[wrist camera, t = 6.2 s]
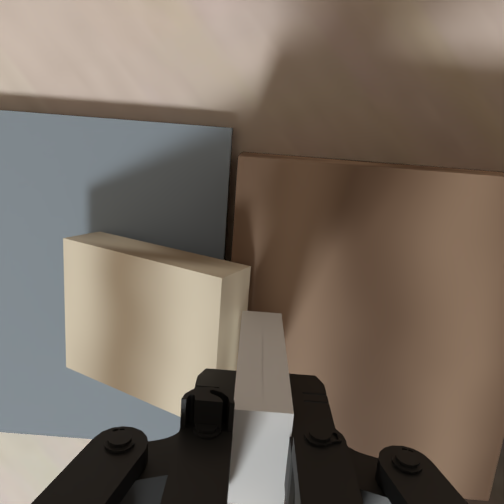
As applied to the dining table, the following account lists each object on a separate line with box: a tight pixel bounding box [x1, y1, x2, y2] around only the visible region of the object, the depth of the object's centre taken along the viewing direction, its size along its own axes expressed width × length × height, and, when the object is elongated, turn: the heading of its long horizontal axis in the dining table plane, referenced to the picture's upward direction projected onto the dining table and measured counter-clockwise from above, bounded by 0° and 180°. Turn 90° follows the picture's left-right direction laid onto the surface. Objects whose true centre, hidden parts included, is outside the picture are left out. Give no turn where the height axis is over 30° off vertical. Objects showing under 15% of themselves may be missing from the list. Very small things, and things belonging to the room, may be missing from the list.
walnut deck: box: [231, 152, 504, 501], centre depth 21 cm, size 12×14×4 cm
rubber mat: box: [0, 110, 233, 441], centre depth 22 cm, size 12×16×1 cm
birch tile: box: [63, 231, 251, 417], centre depth 19 cm, size 8×6×2 cm
